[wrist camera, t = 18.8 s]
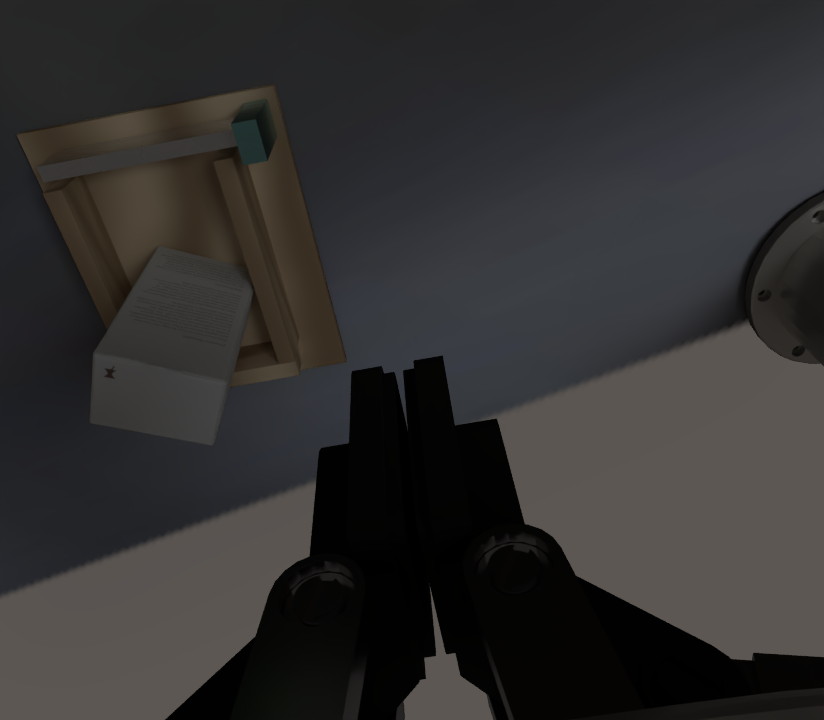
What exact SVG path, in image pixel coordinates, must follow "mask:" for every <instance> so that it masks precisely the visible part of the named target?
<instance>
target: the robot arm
mask: <svg viewBox="0 0 824 720" xmlns="http://www.w3.org/2000/svg"><path fill="white" fill-rule="evenodd" d="M745 304H746V313H747V316H748V319H749V322H750V325H751V326H752V328H753V330H754V331H755V333H756V334H757V336H758V337H759V338H760V339H761V340H762V341H763V342H764V343H765V344H766V345H767V346H768V347H769V348H770V349H772V350H773V351H774V352H776V353H777V354H779V355H780V356H782V357H785V358H787V359H790V360H793V361H797V362H803V363H809V364H817V363H818V364H820V363H821V364H822V365H823V366H824V193H822V194H820V195H818V196H816V197H814V198H812V199H810V200H809V201H808V202H806V203H805V204H804V205H802V206H801V207H799V208H798V209H797V210H795V211H794V212H792V213H791V214H790V215H789V216H788V217H787V218H786V219H785V220H784V221H783V222H782V223H781V224H780V225H779V226H778V227H777V228H776V229H775V230H774V232H773V233H772V234H771V235H770V237H769V238H768V239H767V240H766V242H765V243H764V244H763V246H762V248H761V250H760V251H759V253H758V255H757V257H756V259H755V260H754V262H753V265H752V268H751V271H750V273H749V276H748V279H747V286H746V292H745ZM403 375H404V387H405V399H406V412H407V424H408V430H407V426H406V421H405V417H404V412H403V408H402V403H401V398H400V394H399V389H398V385H397V380H396V376H395V373H394V372H391V373H385V374H384V372H383V369H382V367H381V366H380V367H374V368H368V369H362V370H356V371H352V375H351V403H350V433H349V443H348V444H342V445H337V446H331V447H325V448H321V449H320V451H319V457H318V468H317V479H316V491H315V502H314V513H313V525H312V536H311V547H310V557H307V558H305V559H303V560H300V561H298V562H296V563H295V564H294V565H292V566H291V567H289V568H288V569H287V570H285V571H284V572H283V573H282V574H281V576H280V577H279V578H278V579H277V580H276V581H275V583H274V585H273V587H272V589H271V591H270V593H269V596H268V599H267V602H266V605H265V609H264V611H263V615H262V618H261V621H260V624H259V627H258V630H257V634H256V636H255V638H253V639H252V640H251V641H250V642H249V643H248V644H247V645H246V646H245V647H243V648H242V649H241V651H239V652H238V653H237V654H236V655H235V656H234V657H233V658H232V659H231V660H229V661H228V662H227V663H226V664H225V665H224V666H223V667H222V668H221V669H220V670H219V671H217V672H216V673H215V674H214V675H213V676H212V677H211V678H210V679H209V680H208V681H207V682H206V683H204V684H203V685H202V686H201V687H200V688H199V689H198V690H197V691H196V692H195V693H194V694H193V695H192V696H190V697H189V698H188V699H187V700H186V701H185V702H184V703H183V704H182V705H181V706H180V707H178V708H177V709H176V710H175V711H174V712H173V713H172V714H171V715H170V716H169V717H168V718H167V719H165V720H404V719H405V713H404V703H403V701H404V699H405V698H406V697H407V696H408V695H409V694H410V692H411V691H412V690H413V689H414V688H415V687H416V685H417V684H418V683H419V680H422V679H426V675H425V662H424V658H425V657H432V656H436V648H435V637H434V626H433V615H432V606H431V594H430V588H431V592H432V596H433V600H434V605H435V609H436V613H437V618H438V622H439V626H440V630H441V635H442V639H443V643H444V648H445V652H446V654H451V653H456V657H457V661H458V666H459V671H460V675H461V676H462V677H463V678H465V679H466V680H467V681H469V682H470V683H472V684H474V685H475V686H476V687H478V688H479V689H480V690H482V691H483V692H485V693H486V694H487V697H488V703H489V707H490V710H491V713H492V716H493V720H824V657H810V656H796V655H795V656H794V655H779V654H763V653H753V657H752V661H751V660H736V659H735V660H734V659H730V658H729V657H728V656H727V655H725V654H724V653H722V652H721V651H720V650H718V649H717V648H715V647H714V646H712V645H710V644H708V643H706V642H704V641H702V640H700V639H698V638H696V637H695V636H692V635H690V634H689V633H686V632H685V631H683V630H681V629H679V628H677V627H675V626H673V625H671V624H669V623H667V622H665V621H663V620H661V619H659V618H657V617H655V616H653V615H652V614H649V613H648V612H646V611H644V610H642V609H640V608H638V607H636V606H634V605H632V604H630V603H628V602H626V601H624V600H622V599H620V598H618V597H616V596H615V595H612V594H611V593H609V592H606V591H605V590H603V589H601V588H599V587H597V586H595V585H593V584H591V583H589V582H587V581H585V580H583V579H581V578H579V577H577V576H576V575H575V573H574V571H573V569H572V567H571V566H570V564H569V562H568V560H567V558H566V556H565V554H564V552H563V550H562V548H561V547H560V545H559V544H558V543H557V542H556V540H555V539H554V538H553V537H552V536H551V535H549V534H548V533H546V532H545V531H543V530H542V529H539V528H536V527H533V526H530V525H526V524H525V523H524V520H523V516H522V512H521V509H520V504H519V500H518V497H517V493H516V489H515V485H514V481H513V478H512V474H511V470H510V466H509V462H508V459H507V455H506V451H505V447H504V443H503V440H502V436H501V432H500V428H499V424H498V421H497V419H491V420H485V421H479V422H473V423H468V424H462V425H456V426H455V424H454V418H453V412H452V407H451V401H450V395H449V389H448V384H447V378H446V372H445V366H444V361H443V356H438V357H432V358H426V359H420V360H414V369H409V370H403ZM429 583H430V584H429Z"/></svg>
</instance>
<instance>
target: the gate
mask: <svg viewBox="0 0 824 720" xmlns="http://www.w3.org/2000/svg"><path fill="white" fill-rule="evenodd" d="M277 137H278V136H277V133H276V129H275V125H274V121H273V118H272V114H271V110H270V107H269V103H268V99H267V98H266V99H261V100H256V101H250V102H245V103H244V105H243V106H242V108H241V109H240V111H239V112H238V114H237V115H236V117H231V118H226V119H220V120H215V121H210V122H205V123H199V124H194V125H189V126H184V127H178V128H173V129H168V130H162V131H157V132H152V133H147V134H141V135H136V136H131V137H126V138H120V139H115V140H110V141H105V142H99V143H94V144H89V145H84V146H78V147H73V148H68V149H63V150H59V151H57V152H56V153H55V154H53V155H52V156H51V157H49V158H48V159H47V160H45V161H44V162H43V163H41V164H40V165H39V166H37V169H38V171H39V173H40V176H41V178H42V180H43V182H49V181H54V180H60V179H65V178H70V177H76V176H81V175H86V174H92V173H97V172H102V171H108V170H113V169H118V168H123V167H129V166H134V165H139V164H145V163H150V162H155V161H161V160H166V159H171V158H177V157H182V156H187V155H193V154H198V153H203V152H209V151H214V150H219V149H224V148H230V147H235V146H238V149H239V153H240V156H241V159H242V163H243V166H244V165H249V164H254V163H260V162H265V161H268V159H269V156H270V154H271V151H272V149H273V146H274V144H275V142H276V139H277Z"/></svg>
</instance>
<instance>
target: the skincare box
mask: <svg viewBox="0 0 824 720" xmlns="http://www.w3.org/2000/svg"><path fill="white" fill-rule="evenodd" d="M253 294H254V286H253V283H252V280H251V277H250V273H249V270H248V267H243V266H239V265H235V264H231V263H227V262H223V261H219V260H215V259H211V258H207V257H203V256H199V255H194V254H190V253H186V252H182V251H178V250H174V249H170V248H166V247H163V246H158V247H157V248H156V250H155V252H154V253H153V255H152V257H151V258H150V260H149V262H148V263H147V265H146V267H145V268H144V270H143V272H142V273H141V275H140V277H139V278H138V280H137V281H136V283H135V285H134V286H133V288H132V290H131V291H130V293H129V295H128V296H127V298H126V300H125V301H124V303H123V305H122V306H121V308H120V310H119V311H118V313H117V315H116V316H115V318H114V320H113V321H112V323H111V325H110V327H109V328H108V330H107V332H106V334H105V335H104V337H103V338H102V340H101V341H100V343H99V344H98V346H97V348H96V349H95V351H94V352H93V362H92V383H91V401H90V417H89V422H90V423H91V424H95V425H101V426H107V427H113V428H118V429H123V430H129V431H135V432H140V433H145V434H151V435H156V436H162V437H167V438H173V439H178V440H184V441H189V442H194V443H200V444H205V445H209V446H213V445H214V443H215V441H216V437H217V433H218V430H219V426H220V422H221V418H222V415H223V411H224V407H225V403H226V399H227V396H228V392H229V388H230V384H231V380H232V376H233V373H234V369H235V365H236V362H237V358H238V354H239V351H240V347H241V343H242V340H243V336H244V333H245V329H246V325H247V320H248V316H249V312H250V308H251V303H252V299H253Z"/></svg>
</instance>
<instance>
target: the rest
mask: <svg viewBox="0 0 824 720" xmlns="http://www.w3.org/2000/svg"><path fill="white" fill-rule="evenodd" d="M266 98H267V99H268V103H269V107H270V110H271V114H272V118H273V121H274V125H275V129H276V133H277V136H278V137H277V139H276V142H275V144H274V146H273V149H272V151H271V154H270V156H269V159H268V161H265V162H260V163H254V164H249V165H244V166H243V163H242V159H241V156H240V153H239V149H238V146H235V147H230V148H224V149H219V150H214V151H209V152H203V153H198V154H193V155H187V156H182V157H177V158H171V159H166V160H161V161H155V162H150V163H145V164H139V165H134V166H129V167H123V168H118V169H113V170H108V171H102V172H97V173H92V174H86V175H81V176H76V177H70V178H65V179H60V180H54V181H49V182H43V180H42V178H41V176H40V173H39V171H38V169H37V166H39V165H40V164H41V163H43V162H44V161H45V160H47V159H48V158H49V157H51V156H52V155H53V154H55V153H56V152H57V151H59V150H63V149H68V148H73V147H78V146H84V145H89V144H94V143H99V142H105V141H110V140H115V139H120V138H126V137H131V136H136V135H141V134H147V133H152V132H157V131H162V130H168V129H173V128H178V127H184V126H189V125H194V124H199V123H205V122H210V121H215V120H220V119H226V118H231V117H236V115H237V114H238V112H239V111H240V109H241V108H242V106H243V105H244V103H245V102H250V101H256V100H261V99H266ZM17 137H18V139H19V141H20V143H21V146H22V148H23V150H24V152H25V154H26V156H27V158H28V160H29V163H30V165H31V167H32V169H33V171H34V173H35V175H36V177H37V180H38V182H39V184H40V186H41V188H42V190H43V192H44V193H43V195H44V197H45V200H46V202H47V204H48V206H49V208H50V210H51V212H52V214H53V217H54V219H55V221H56V223H57V225H58V227H59V229H60V231H61V233H62V236H63V238H64V240H65V242H66V244H67V246H68V248H69V250H70V253H71V255H72V257H73V259H74V261H75V263H76V265H77V267H78V270H79V272H80V274H81V276H82V278H83V280H84V282H85V284H86V286H87V289H88V291H89V293H90V295H91V297H92V299H93V301H94V303H95V306H96V308H97V310H98V312H99V314H100V316H101V318H102V320H103V322H104V325H105V327H106V329H107V330H108V328H109V327H110V325H111V323H112V321H113V320H114V318H115V316H116V315H117V313H118V311H119V310H120V308H121V306H122V305H123V303H124V301H125V300H126V298H127V296H128V295H129V293H130V291H131V290H132V288H133V286H134V285H135V283H136V281H137V280H138V278H139V277H140V275H141V273H142V272H143V270H144V268H145V267H146V265H147V263H148V262H149V260H150V258H151V257H152V255H153V253H154V252H155V250H156V248H157V247H158V246H163V247H166V248H170V249H174V250H178V251H182V252H186V253H190V254H194V255H199V256H203V257H207V258H211V259H215V260H219V261H223V262H227V263H231V264H235V265H239V266H243V267H248V270H249V273H250V277H251V280H252V283H253V286H254V294H253V299H252V303H251V308H250V312H249V316H248V320H247V325H246V329H245V333H244V336H243V340H242V343H241V347H240V351H239V354H238V358H237V362H236V365H235V369H234V373H233V376H232V380H231V384H230V387H234V386H240V385H246V384H251V383H257V382H263V381H269V380H275V379H280V378H286V377H292V376H298V375H300V370H304V369H309V368H315V367H321V366H327V365H333V364H338V363H344V362H346V355H345V351H344V347H343V343H342V339H341V336H340V332H339V328H338V324H337V320H336V317H335V313H334V309H333V305H332V301H331V297H330V294H329V290H328V286H327V282H326V278H325V275H324V271H323V267H322V263H321V259H320V255H319V252H318V248H317V244H316V240H315V236H314V232H313V229H312V225H311V221H310V217H309V213H308V210H307V206H306V202H305V198H304V194H303V190H302V187H301V183H300V179H299V175H298V171H297V168H296V164H295V160H294V156H293V152H292V148H291V145H290V141H289V137H288V133H287V129H286V125H285V122H284V118H283V114H282V110H281V106H280V103H279V99H278V95H277V91H276V87H275V84H270V85H265V86H260V87H255V88H250V89H244V90H239V91H234V92H229V93H223V94H218V95H213V96H208V97H203V98H197V99H192V100H187V101H182V102H177V103H171V104H166V105H161V106H156V107H150V108H145V109H140V110H135V111H130V112H124V113H119V114H114V115H109V116H104V117H98V118H93V119H88V120H83V121H77V122H72V123H67V124H62V125H57V126H51V127H46V128H41V129H36V130H31V131H25V132H20V133H19V134H17Z"/></svg>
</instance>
